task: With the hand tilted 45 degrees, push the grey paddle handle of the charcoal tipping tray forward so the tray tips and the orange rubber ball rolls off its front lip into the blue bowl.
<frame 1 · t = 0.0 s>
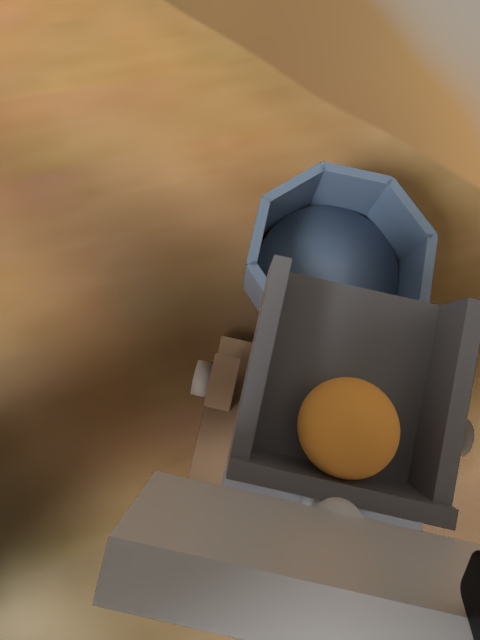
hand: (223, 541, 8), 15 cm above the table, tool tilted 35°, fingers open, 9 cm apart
stand: (300, 409, 23), on the table
blue bowl: (325, 274, 25), on the table
ball: (347, 427, 14), point 9 cm above the table, tilted 31°, touching tipper
tipper: (364, 435, 12), point 11 cm above the table, hinge at -7.6°, touching ball, gripper
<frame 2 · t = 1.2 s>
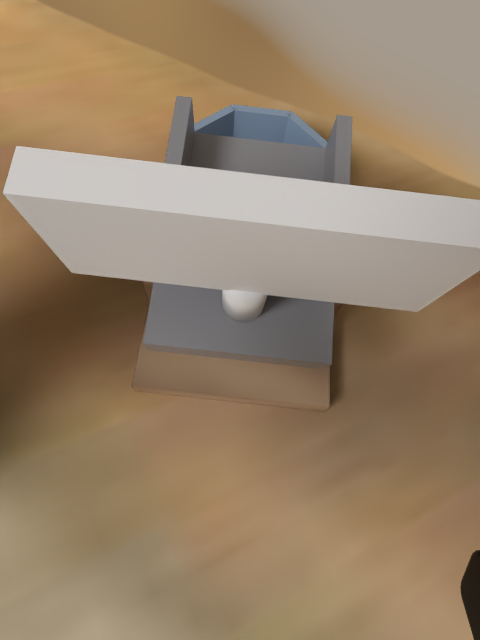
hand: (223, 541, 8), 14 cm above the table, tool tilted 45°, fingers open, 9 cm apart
stand: (239, 312, 25), on the table
blue bowl: (250, 205, 28), on the table
tipper: (256, 192, 14), point 11 cm above the table, hinge at -9.2°, touching ball
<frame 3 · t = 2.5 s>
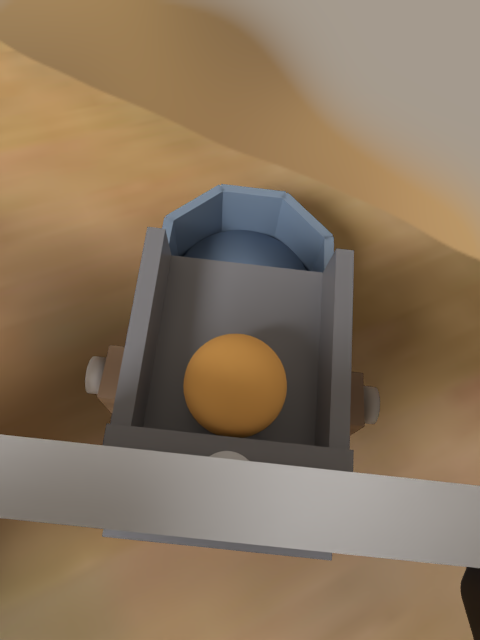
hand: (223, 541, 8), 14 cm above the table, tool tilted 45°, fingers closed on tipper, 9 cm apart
stand: (227, 424, 22), on the table
blue bowl: (241, 291, 26), on the table
ball: (235, 385, 13), point 9 cm above the table, tilted 32°, touching tipper
tipper: (238, 372, 12), point 11 cm above the table, hinge at -7.4°, touching ball, gripper
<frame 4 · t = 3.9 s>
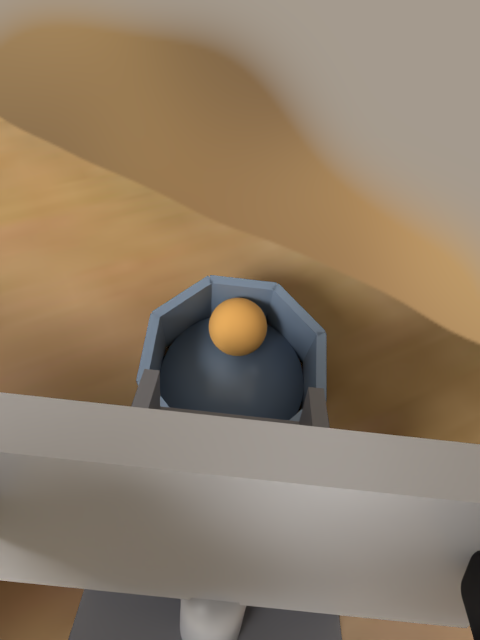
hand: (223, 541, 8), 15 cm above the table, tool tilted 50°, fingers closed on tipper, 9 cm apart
blue bowl: (231, 381, 25), on the table
ball: (237, 326, 24), point 2 cm above the table, tilted 10°, touching blue bowl
tipper: (227, 460, 12), point 11 cm above the table, hinge at 26.9°, touching gripper
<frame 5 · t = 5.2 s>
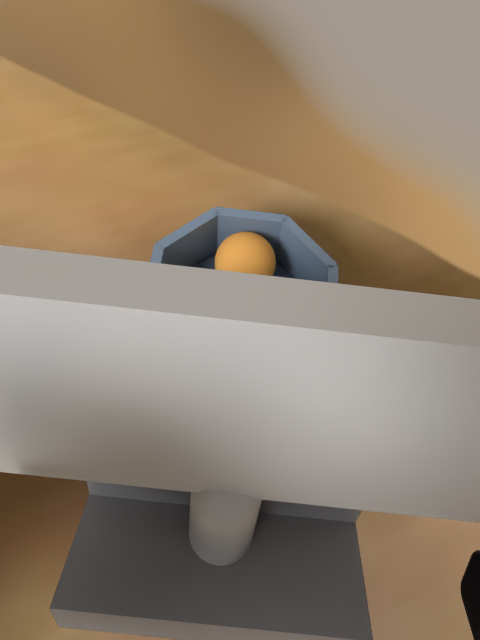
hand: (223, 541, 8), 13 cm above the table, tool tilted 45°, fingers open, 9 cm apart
blue bowl: (238, 320, 24), on the table
ball: (245, 262, 23), point 2 cm above the table, tilted 9°, touching blue bowl
tipper: (239, 365, 11), point 11 cm above the table, hinge at 26.9°
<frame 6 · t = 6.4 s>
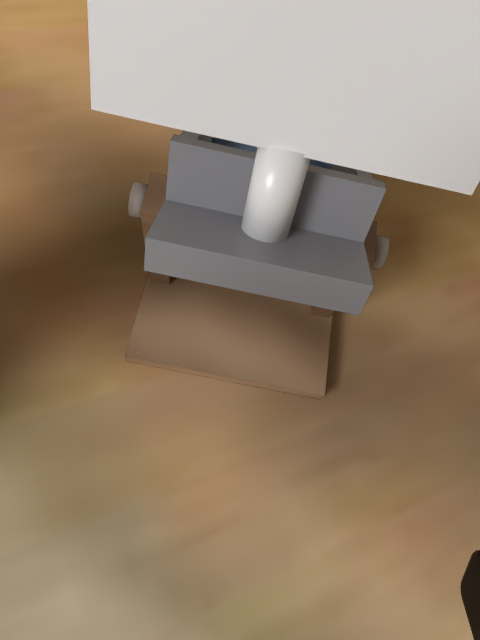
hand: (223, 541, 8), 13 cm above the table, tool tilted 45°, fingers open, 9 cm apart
stand: (241, 290, 24), on the table
blue bowl: (261, 180, 27), on the table
tipper: (289, 110, 15), point 11 cm above the table, hinge at 26.9°
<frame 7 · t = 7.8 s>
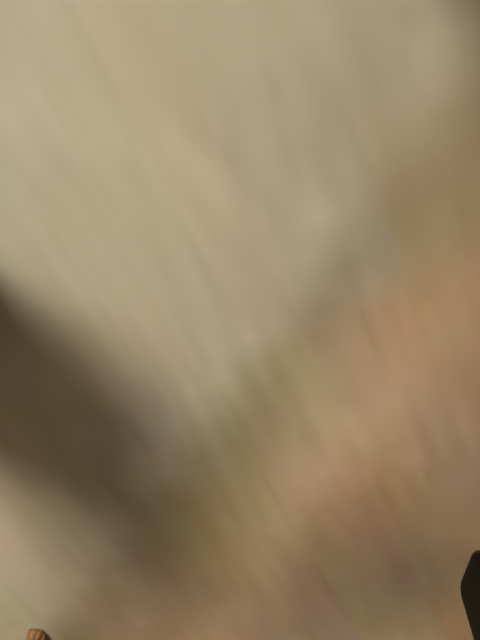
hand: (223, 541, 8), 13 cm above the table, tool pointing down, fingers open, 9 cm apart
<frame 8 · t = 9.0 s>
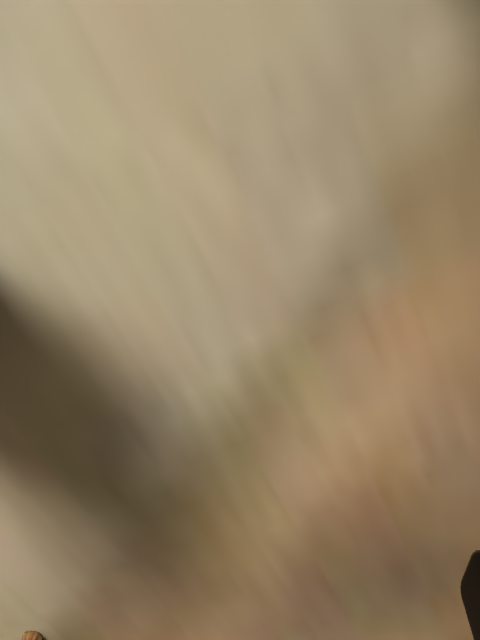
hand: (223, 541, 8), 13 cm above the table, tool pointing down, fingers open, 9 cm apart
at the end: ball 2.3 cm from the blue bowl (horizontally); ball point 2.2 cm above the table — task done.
